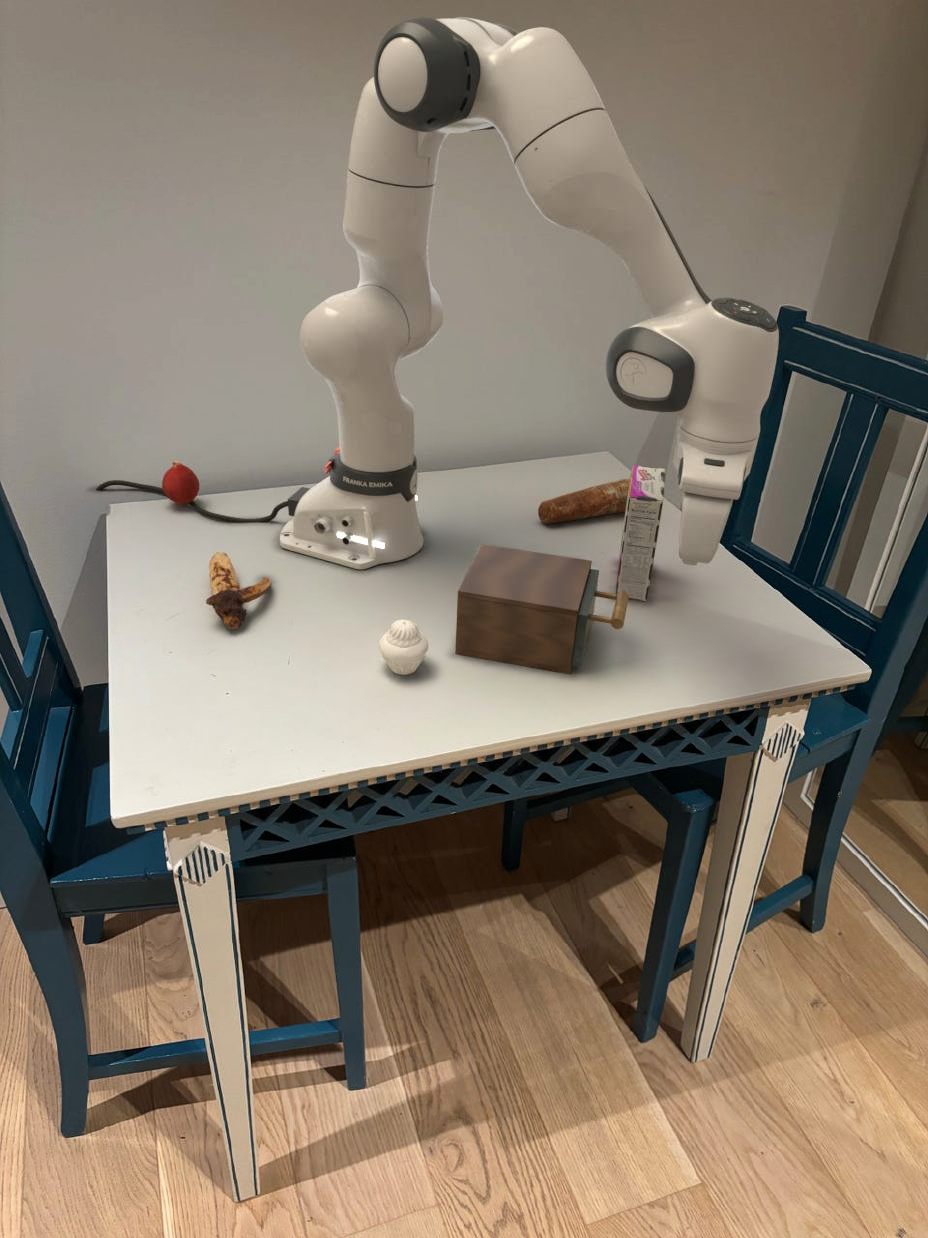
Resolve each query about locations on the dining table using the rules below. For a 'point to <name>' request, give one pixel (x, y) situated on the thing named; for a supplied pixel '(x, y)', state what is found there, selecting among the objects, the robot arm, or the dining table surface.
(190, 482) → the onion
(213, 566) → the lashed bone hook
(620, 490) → the bread
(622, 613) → the drawer
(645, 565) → the candy bar box
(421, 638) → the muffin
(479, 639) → the cabinet
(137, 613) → the dining table surface
